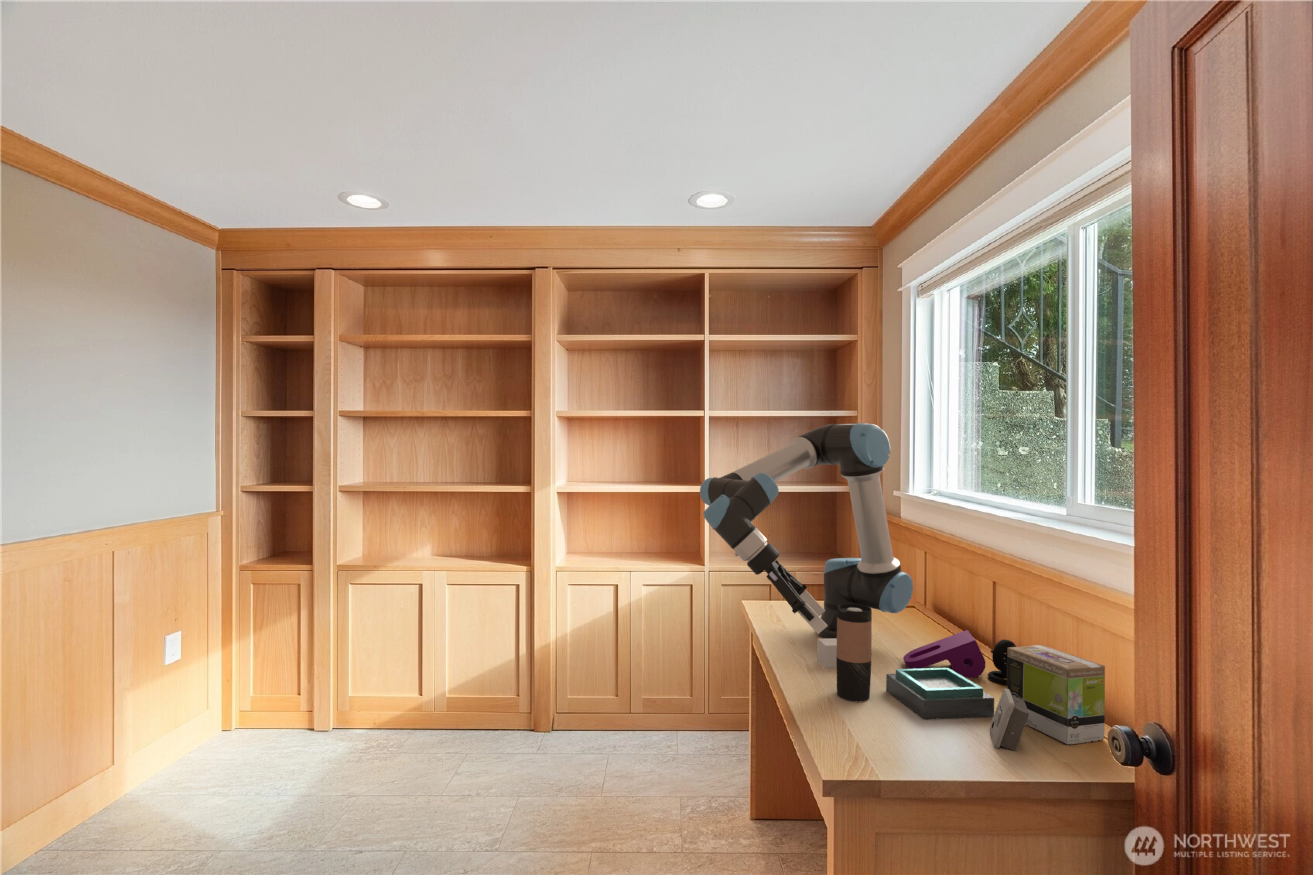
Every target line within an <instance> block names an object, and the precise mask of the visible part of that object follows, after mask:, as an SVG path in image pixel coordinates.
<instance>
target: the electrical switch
mask: <svg viewBox="0 0 1313 875" xmlns="http://www.w3.org/2000/svg"><path fill="white" fill-rule="evenodd" d="M1028 716H1029V712H1028V709H1027V707H1026V704H1025V702H1024V700H1023V699H1020V698H1017V697H1016V696H1014V695H1011V693H1010V690H1009V689H1007V687H1006V688H1004V689H1003V691H1002V693H1001V695H1000V698H999V700H998V703H997V706H996V709H995V710H994V717H992V719H991V722H990V727H989V731H990V736H991V741H992V744H993V747H994V748H996V749H997V750H999V749H1000V747H1001V746H1002V747H1003V748H1005V749H1009V750H1011V751H1014V752H1016V751H1017V749H1018V746H1019V743H1020V741H1021V739H1022V735H1023V732H1024V729H1025V726H1026V725H1027V724H1026V722H1027V719H1028Z"/></svg>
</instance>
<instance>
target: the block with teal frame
mask: <svg viewBox="0 0 1313 875" xmlns="http://www.w3.org/2000/svg"><path fill="white" fill-rule="evenodd" d="M885 677H886V678H885V681H886V682H885V686H886V687H885V691H886V693H888V694H889V695H890V696H892V697H893V698H894V699H896V700H897V701H899V703H901V704H902V705H904V707H906V708H907V709H909V710H910V711H911V712H913V713H914V714H916V715H917V716H918V717H919V718H920V719H922V720H923V721H927V720H947V719H948V720H949V719H952V720H953V719H970V718H971V719H972V718H973V719H974V718H993V717H994V714H995V697H994V696H992V695H990V694H989V693H987V692H985V691H984V688H983V687H982V686H981V685H978V684H977V683H975V682H974V681H971V680H970V679H969V678H966V677H963V676H961V675H960V674H958V673H956V672H955V671H954V669H951V668H949V667H929V668H928V667H924V668H920V669H909V668H896V669H895V673H886V675H885Z"/></svg>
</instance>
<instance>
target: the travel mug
mask: <svg viewBox="0 0 1313 875" xmlns="http://www.w3.org/2000/svg"><path fill="white" fill-rule="evenodd" d="M872 612H873V611H872V608H870V607H867V606H864V605H859V604H841V605H839V606H838V612H837V650H836V665H837V669H836V694H837V696H838V697H839V698H841V699H842V698H843V699H842V700H845V701H848V702H849V701H850V702H855V701H857V703H859V702H860V701H862V702H866V701H868V700H870V697H871V696H870V695H871V694H870V693H871V678H872V677H871V676H872V644H873V643H872V637H873V636H872V626H873V625H872V618H873V617H872V616H873V614H872Z"/></svg>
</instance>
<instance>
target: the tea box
mask: <svg viewBox="0 0 1313 875" xmlns="http://www.w3.org/2000/svg"><path fill="white" fill-rule="evenodd" d="M1105 669H1106V666H1105V665H1103V664H1101V663H1097V662H1095V661H1092V660H1088V659H1085V658H1082V657H1081V656H1076V655H1073V654H1070V653H1067V652H1064V651H1061V650H1060V649H1055V648H1052V647H1049V646H1046V645H1044V644H1041V645H1040V644H1037V645H1024V646H1023V645H1022V646H1016V647H1009V648H1007V678H1006V679H1007V685H1006V689H1009V690H1010V693H1011V695H1014V696H1016V697H1017V698H1020V699H1023V700H1024V702H1025V704H1026V707H1027V709H1028V712H1029V716H1028V719H1027V722H1026V724H1025V725H1027V726H1029V727H1031V728H1033V729H1035V730H1037V731H1039V732H1041V733H1043V734H1045V735H1047V736H1049V737H1051V738H1053V739H1055V740H1058V741H1059V742H1061V743H1064V744H1065V745H1077V744H1078V745H1079V744H1084V743H1085V742H1086V743H1091V741H1093V742H1099V741H1098V740H1100V739H1105V724H1106V723H1105V721H1106V720H1105V719H1106V718H1105V717H1106V716H1105V712H1106V710H1105V709H1106V706H1105V705H1106V696H1105V695H1106V688H1105V687H1106V670H1105ZM1100 741H1101V740H1100Z"/></svg>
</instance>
